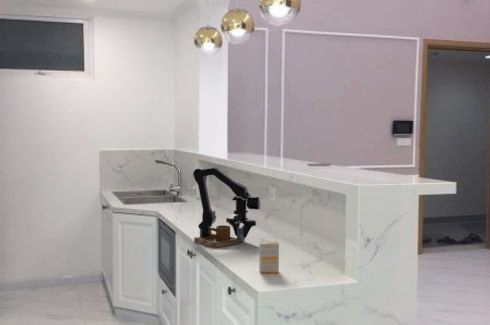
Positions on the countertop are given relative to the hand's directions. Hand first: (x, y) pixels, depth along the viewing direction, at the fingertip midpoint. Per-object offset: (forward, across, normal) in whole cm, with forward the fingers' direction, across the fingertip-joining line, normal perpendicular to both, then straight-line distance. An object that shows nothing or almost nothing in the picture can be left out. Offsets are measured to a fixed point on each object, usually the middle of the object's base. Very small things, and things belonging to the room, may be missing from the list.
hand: (240, 236), depth 307 cm
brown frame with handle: (+2, -4, -10) cm, 11 cm away
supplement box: (+2, +55, -32) cm, 64 cm away
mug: (+2, -1, -14) cm, 15 cm away
